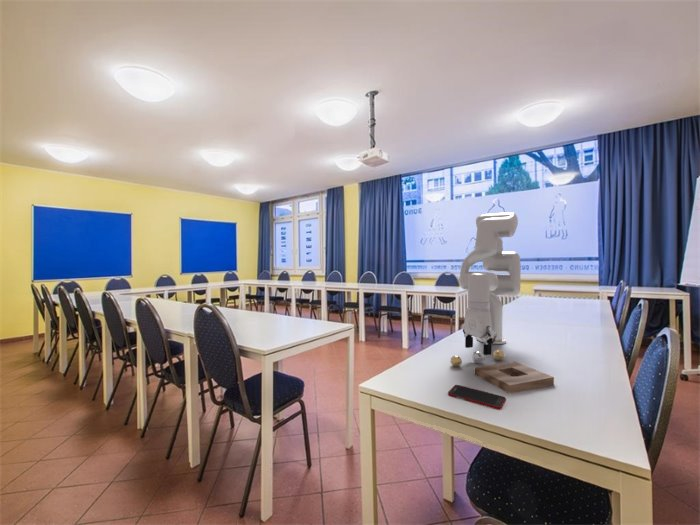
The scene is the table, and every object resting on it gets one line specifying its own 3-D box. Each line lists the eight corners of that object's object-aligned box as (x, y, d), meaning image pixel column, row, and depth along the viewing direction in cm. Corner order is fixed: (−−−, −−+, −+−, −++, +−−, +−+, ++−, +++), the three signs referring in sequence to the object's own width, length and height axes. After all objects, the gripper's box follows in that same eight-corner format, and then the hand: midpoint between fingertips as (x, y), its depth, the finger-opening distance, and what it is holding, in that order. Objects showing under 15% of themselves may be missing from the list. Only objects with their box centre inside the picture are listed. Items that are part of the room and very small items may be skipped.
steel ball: (469, 361, 119) (469, 350, 119) (478, 360, 120) (478, 349, 120) (477, 366, 115) (477, 354, 115) (487, 364, 116) (487, 352, 116)
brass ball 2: (490, 359, 122) (491, 349, 122) (498, 357, 123) (499, 347, 123) (498, 362, 118) (498, 352, 118) (506, 361, 119) (507, 351, 119)
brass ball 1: (448, 365, 116) (448, 354, 115) (457, 363, 117) (457, 353, 117) (455, 369, 112) (455, 358, 112) (464, 367, 113) (464, 356, 113)
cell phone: (500, 411, 83) (500, 407, 83) (446, 396, 92) (446, 392, 92) (506, 400, 89) (506, 397, 89) (455, 387, 98) (455, 384, 98)
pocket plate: (474, 374, 107) (474, 367, 106) (514, 368, 112) (514, 361, 112) (509, 393, 92) (509, 385, 92) (553, 384, 98) (553, 377, 98)
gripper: (455, 303, 124) (454, 345, 124) (487, 310, 107) (486, 359, 107) (470, 302, 126) (470, 344, 126) (504, 309, 110) (503, 357, 110)
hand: (477, 350), depth 117 cm, fingers open, 9 cm apart
